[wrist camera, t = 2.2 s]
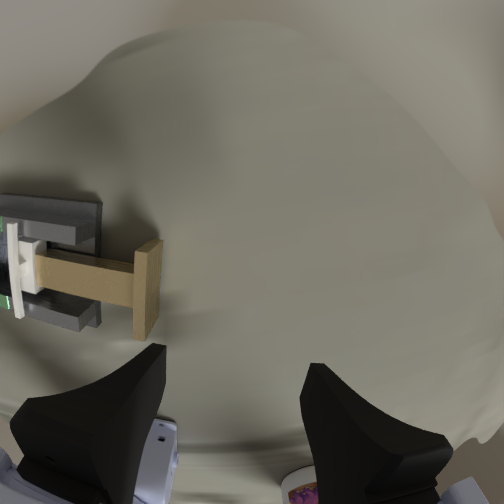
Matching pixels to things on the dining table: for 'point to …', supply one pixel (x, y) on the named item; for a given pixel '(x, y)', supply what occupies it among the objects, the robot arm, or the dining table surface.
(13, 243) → the pointer
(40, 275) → the wooden t-shaped block
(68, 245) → the gauge frame
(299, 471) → the milk bottle
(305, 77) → the dining table surface
